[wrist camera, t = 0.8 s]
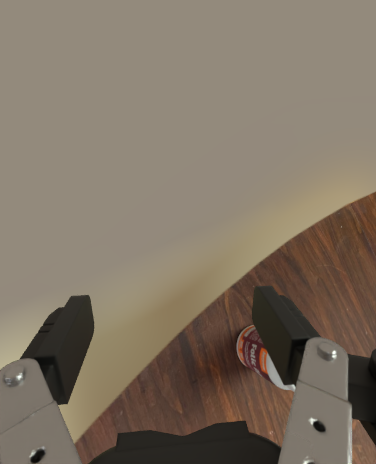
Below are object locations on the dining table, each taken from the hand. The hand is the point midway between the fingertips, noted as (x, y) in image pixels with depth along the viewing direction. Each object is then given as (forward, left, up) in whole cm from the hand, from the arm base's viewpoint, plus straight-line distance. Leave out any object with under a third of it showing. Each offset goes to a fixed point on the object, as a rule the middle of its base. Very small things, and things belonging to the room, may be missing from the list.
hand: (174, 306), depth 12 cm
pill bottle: (+10, -11, -15) cm, 21 cm away
